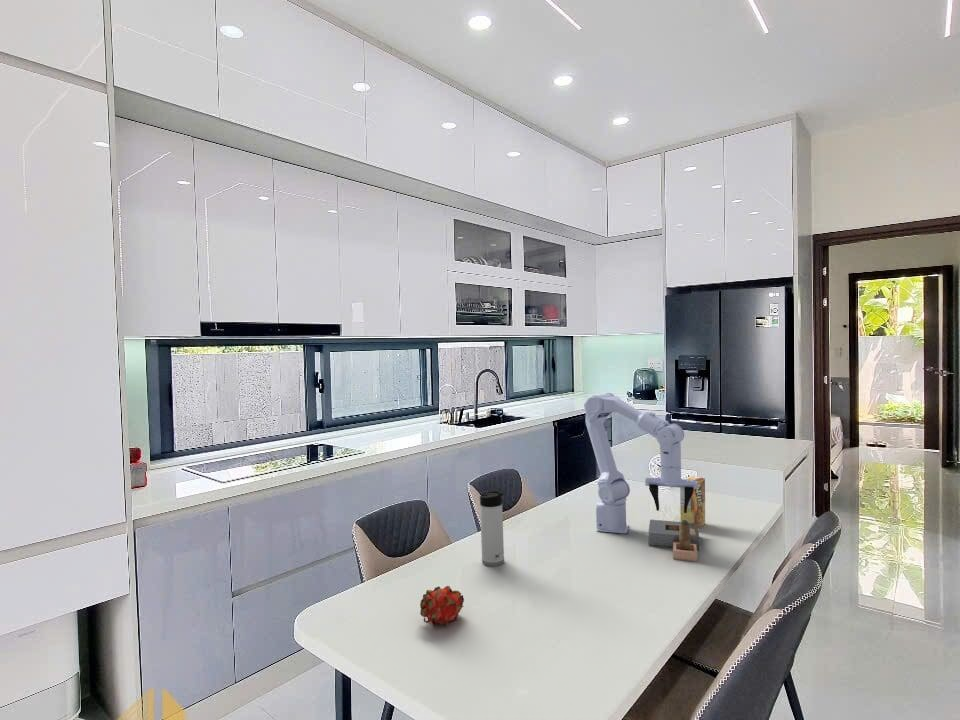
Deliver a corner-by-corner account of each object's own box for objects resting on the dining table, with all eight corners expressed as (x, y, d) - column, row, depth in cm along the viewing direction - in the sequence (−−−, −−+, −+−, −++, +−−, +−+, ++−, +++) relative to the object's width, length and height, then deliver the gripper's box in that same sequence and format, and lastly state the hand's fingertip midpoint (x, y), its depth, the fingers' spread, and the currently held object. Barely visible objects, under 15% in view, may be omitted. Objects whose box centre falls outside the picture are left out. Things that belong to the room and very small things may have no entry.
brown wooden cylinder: (679, 556, 150) (678, 521, 149) (680, 552, 152) (679, 518, 152) (689, 557, 148) (689, 522, 148) (690, 554, 151) (690, 519, 151)
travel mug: (503, 567, 147) (500, 495, 147) (480, 566, 149) (477, 495, 148) (506, 558, 154) (504, 489, 153) (484, 557, 155) (481, 488, 154)
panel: (648, 545, 159) (648, 531, 158) (650, 531, 170) (650, 518, 170) (699, 550, 154) (699, 536, 154) (697, 535, 165) (697, 522, 165)
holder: (673, 559, 149) (673, 550, 149) (673, 550, 154) (673, 542, 154) (697, 561, 147) (697, 552, 146) (696, 552, 152) (696, 544, 152)
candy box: (694, 521, 178) (693, 475, 178) (706, 524, 175) (705, 478, 175) (680, 527, 173) (678, 480, 172) (692, 531, 169) (691, 483, 169)
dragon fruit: (416, 637, 117) (459, 625, 124) (435, 626, 112) (479, 614, 119) (406, 597, 121) (449, 588, 129) (425, 584, 116) (468, 576, 124)
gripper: (644, 467, 157) (645, 512, 157) (697, 470, 152) (698, 517, 152) (645, 461, 163) (646, 505, 164) (696, 464, 158) (697, 509, 159)
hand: (671, 510), depth 159 cm, fingers open, 7 cm apart
